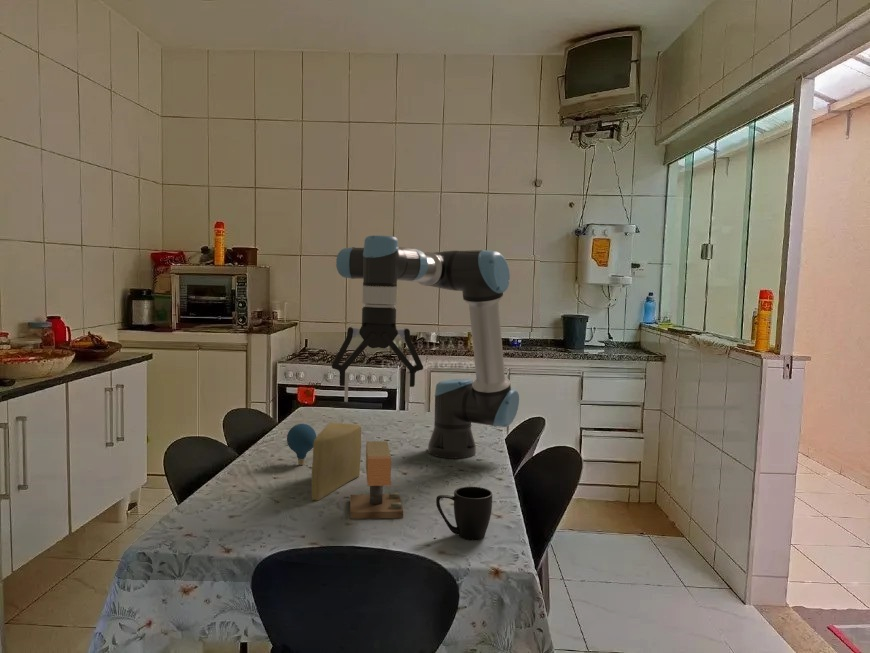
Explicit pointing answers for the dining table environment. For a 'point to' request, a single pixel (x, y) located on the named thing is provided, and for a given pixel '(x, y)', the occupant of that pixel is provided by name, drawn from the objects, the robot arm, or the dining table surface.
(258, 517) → the dining table surface
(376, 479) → the two-tone wooden block
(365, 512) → the wooden base plate
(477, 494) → the mug
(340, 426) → the cheese
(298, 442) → the light bulb
